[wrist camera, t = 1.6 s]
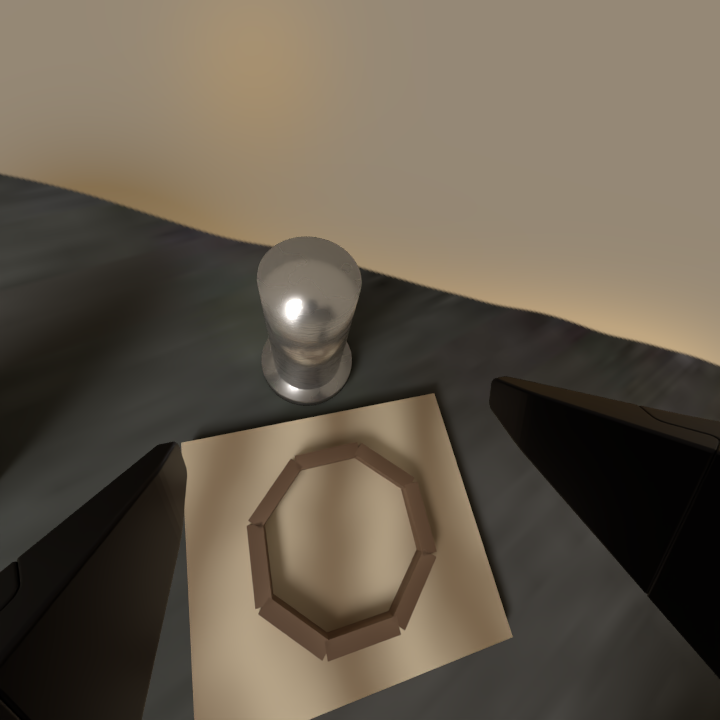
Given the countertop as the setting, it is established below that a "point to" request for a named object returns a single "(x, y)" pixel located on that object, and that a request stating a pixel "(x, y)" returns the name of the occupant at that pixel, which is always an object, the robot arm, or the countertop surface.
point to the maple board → (330, 561)
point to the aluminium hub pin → (307, 318)
